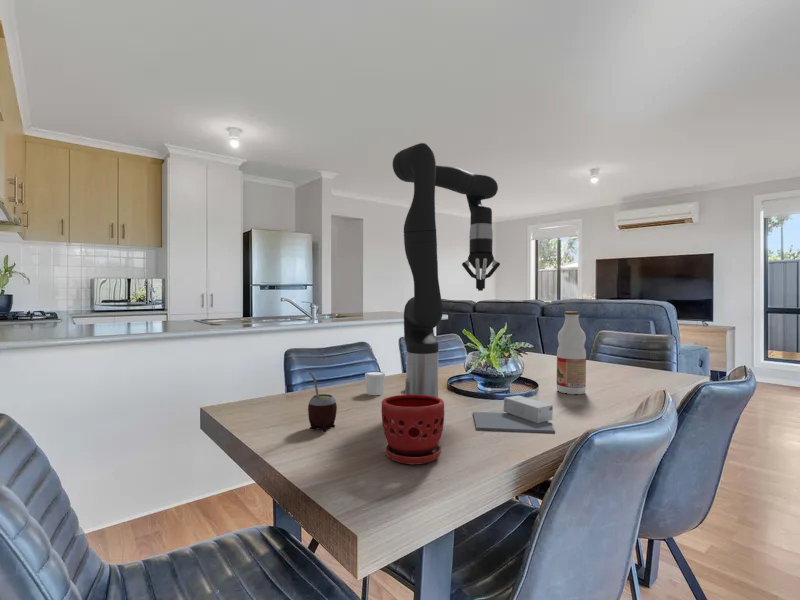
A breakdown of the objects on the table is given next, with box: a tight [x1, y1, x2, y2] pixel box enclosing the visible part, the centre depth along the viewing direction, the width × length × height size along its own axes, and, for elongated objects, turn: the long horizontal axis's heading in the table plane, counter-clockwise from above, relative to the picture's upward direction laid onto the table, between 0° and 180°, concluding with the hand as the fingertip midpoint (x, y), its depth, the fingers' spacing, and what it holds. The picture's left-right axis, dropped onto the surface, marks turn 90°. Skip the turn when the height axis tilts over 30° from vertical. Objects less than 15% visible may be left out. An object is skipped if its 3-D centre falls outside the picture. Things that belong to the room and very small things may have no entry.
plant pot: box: [381, 394, 445, 465], centre depth 90 cm, size 13×13×12 cm
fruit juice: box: [556, 310, 587, 395], centre depth 148 cm, size 9×9×28 cm
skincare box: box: [503, 395, 554, 423], centre depth 117 cm, size 6×4×12 cm
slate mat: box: [472, 411, 556, 434], centre depth 113 cm, size 19×14×1 cm
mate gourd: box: [307, 372, 338, 433], centre depth 107 cm, size 8×8×15 cm
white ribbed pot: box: [364, 371, 386, 396], centre depth 144 cm, size 7×7×7 cm
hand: (480, 290), depth 143 cm, fingers closed
